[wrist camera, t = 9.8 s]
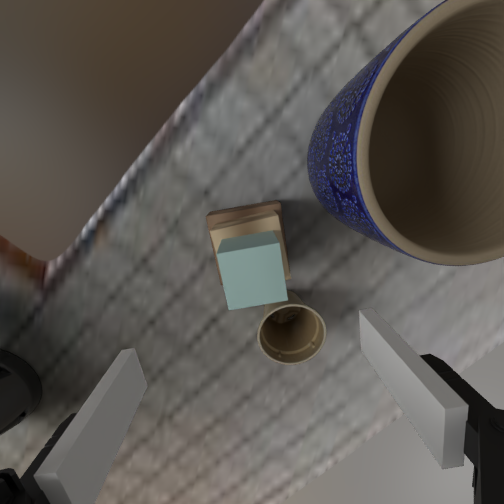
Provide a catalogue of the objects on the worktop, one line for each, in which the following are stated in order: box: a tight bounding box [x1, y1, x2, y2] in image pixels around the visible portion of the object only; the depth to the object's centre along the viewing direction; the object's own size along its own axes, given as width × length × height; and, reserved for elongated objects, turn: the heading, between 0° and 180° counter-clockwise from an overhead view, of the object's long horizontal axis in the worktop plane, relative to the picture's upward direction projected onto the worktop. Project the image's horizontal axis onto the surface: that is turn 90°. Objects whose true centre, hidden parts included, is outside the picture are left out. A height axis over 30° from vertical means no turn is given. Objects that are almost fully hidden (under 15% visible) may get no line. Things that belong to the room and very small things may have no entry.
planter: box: [307, 0, 504, 266], centre depth 28 cm, size 18×18×21 cm
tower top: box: [210, 210, 291, 280], centre depth 33 cm, size 8×8×5 cm
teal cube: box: [216, 230, 288, 310], centre depth 28 cm, size 6×6×6 cm
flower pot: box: [257, 290, 327, 365], centre depth 39 cm, size 9×9×9 cm
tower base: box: [206, 200, 290, 285], centre depth 38 cm, size 10×10×5 cm
